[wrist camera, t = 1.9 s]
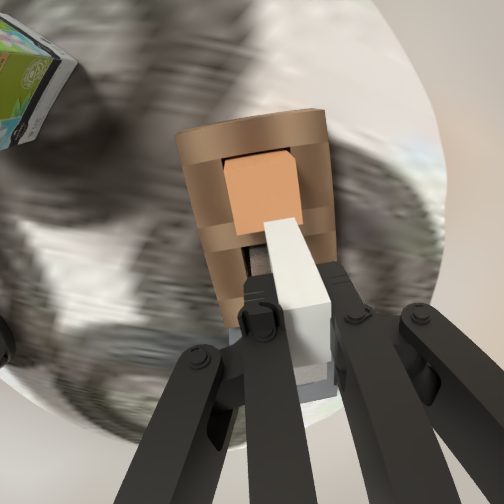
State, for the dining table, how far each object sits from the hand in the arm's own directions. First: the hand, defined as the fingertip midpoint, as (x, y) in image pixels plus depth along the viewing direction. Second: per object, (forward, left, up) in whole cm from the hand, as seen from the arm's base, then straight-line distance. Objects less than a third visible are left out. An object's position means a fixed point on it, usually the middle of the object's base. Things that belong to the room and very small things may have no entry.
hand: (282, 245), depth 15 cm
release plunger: (0, 0, -13) cm, 13 cm away
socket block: (0, -5, -15) cm, 16 cm away
